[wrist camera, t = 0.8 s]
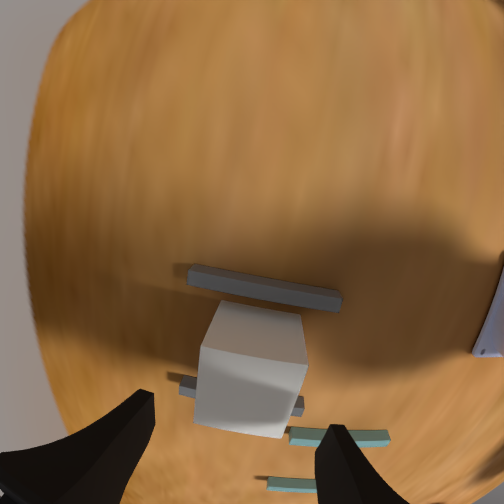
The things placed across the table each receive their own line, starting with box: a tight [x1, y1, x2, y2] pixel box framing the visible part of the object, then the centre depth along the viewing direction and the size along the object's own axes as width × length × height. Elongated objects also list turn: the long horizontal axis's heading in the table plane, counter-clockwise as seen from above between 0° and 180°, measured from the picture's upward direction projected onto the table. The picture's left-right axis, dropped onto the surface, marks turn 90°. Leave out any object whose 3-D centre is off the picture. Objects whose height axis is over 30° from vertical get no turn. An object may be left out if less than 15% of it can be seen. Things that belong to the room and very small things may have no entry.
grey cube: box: [193, 300, 309, 438], centre depth 14 cm, size 4×5×5 cm
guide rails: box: [179, 264, 391, 493], centre depth 17 cm, size 16×20×1 cm
